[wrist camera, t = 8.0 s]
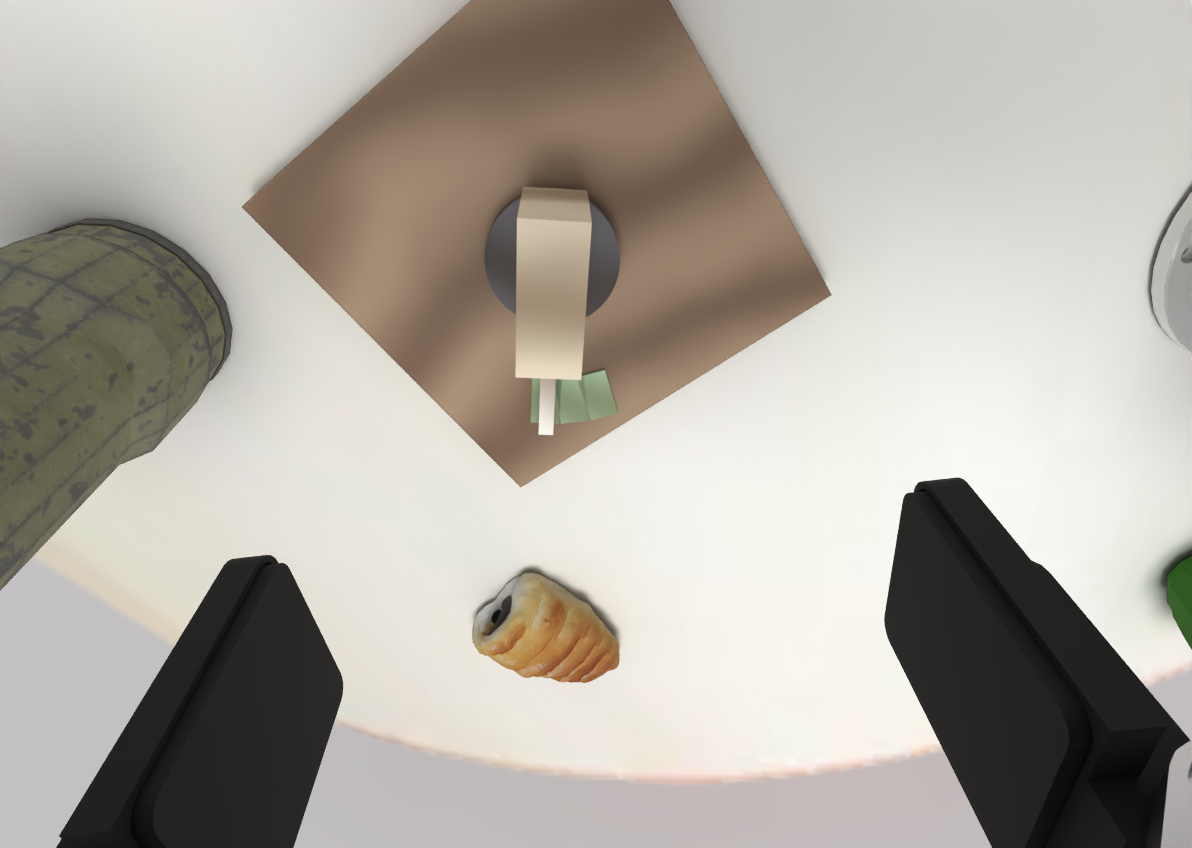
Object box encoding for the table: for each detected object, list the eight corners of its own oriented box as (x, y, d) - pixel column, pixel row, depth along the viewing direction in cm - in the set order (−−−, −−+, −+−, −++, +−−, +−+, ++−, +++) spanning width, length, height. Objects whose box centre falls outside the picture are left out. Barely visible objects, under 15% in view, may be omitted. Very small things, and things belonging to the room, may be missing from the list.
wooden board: (820, 283, 32) (833, 296, 31) (522, 470, 37) (520, 489, 36) (600, -112, 24) (603, -119, 22) (255, 197, 29) (239, 207, 27)
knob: (485, 178, 27) (470, 215, 22) (624, 186, 28) (637, 225, 23) (488, 422, 33) (477, 491, 29) (602, 426, 34) (609, 495, 29)
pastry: (642, 621, 44) (648, 670, 41) (578, 675, 47) (579, 726, 44) (524, 557, 41) (521, 606, 38) (462, 619, 43) (454, 670, 40)
